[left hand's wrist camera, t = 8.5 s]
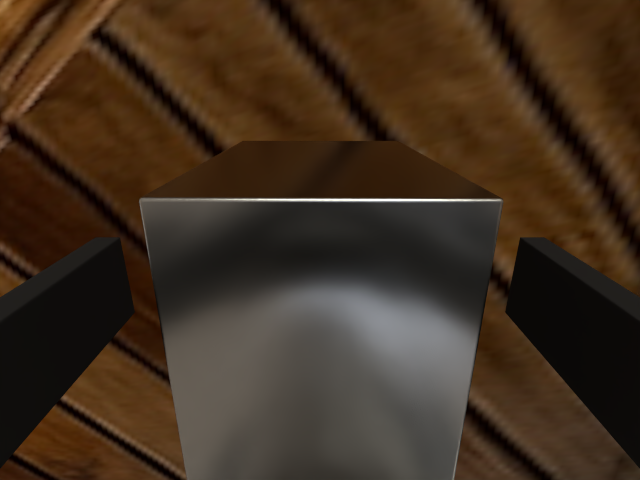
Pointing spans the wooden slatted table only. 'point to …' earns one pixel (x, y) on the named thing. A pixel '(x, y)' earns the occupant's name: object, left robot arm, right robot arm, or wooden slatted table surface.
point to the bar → (320, 309)
